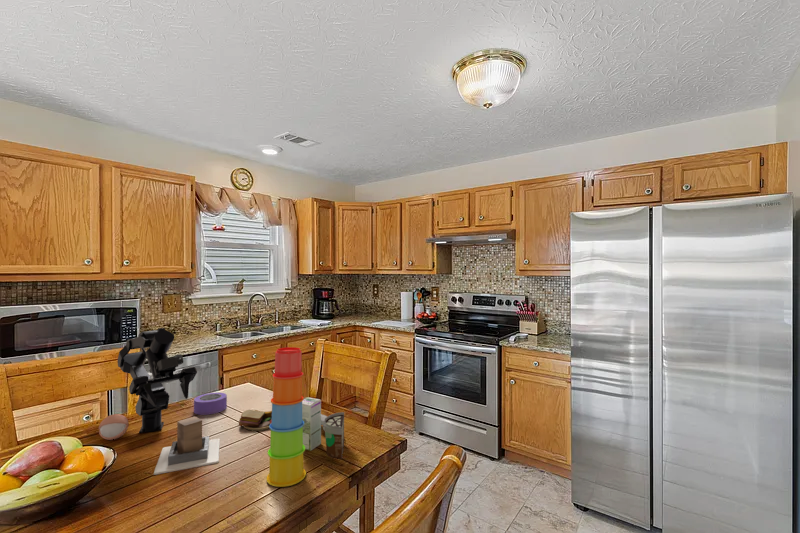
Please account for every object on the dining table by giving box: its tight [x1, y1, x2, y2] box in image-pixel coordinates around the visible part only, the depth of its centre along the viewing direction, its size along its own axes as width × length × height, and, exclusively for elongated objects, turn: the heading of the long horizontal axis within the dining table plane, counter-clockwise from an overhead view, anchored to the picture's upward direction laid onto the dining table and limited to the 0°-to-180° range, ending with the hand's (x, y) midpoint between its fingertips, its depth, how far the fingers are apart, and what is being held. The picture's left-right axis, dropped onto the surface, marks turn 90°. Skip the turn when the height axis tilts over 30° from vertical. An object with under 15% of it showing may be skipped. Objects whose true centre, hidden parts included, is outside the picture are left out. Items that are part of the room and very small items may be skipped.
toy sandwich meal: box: [238, 409, 272, 432], centre depth 138 cm, size 12×14×5 cm
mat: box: [153, 438, 221, 476], centre depth 115 cm, size 16×16×1 cm
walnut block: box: [176, 415, 203, 454], centre depth 115 cm, size 5×5×10 cm
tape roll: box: [193, 392, 228, 416], centre depth 152 cm, size 12×12×5 cm
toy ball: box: [98, 413, 130, 441], centre depth 126 cm, size 8×8×8 cm
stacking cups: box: [266, 346, 307, 488], centre depth 103 cm, size 10×10×35 cm
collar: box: [168, 435, 210, 465], centre depth 115 cm, size 10×10×2 cm
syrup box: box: [302, 396, 322, 452], centre depth 121 cm, size 6×6×14 cm
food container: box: [322, 411, 345, 460], centre depth 117 cm, size 12×6×10 cm, turn 5°
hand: (171, 402), depth 123 cm, fingers open, 9 cm apart
